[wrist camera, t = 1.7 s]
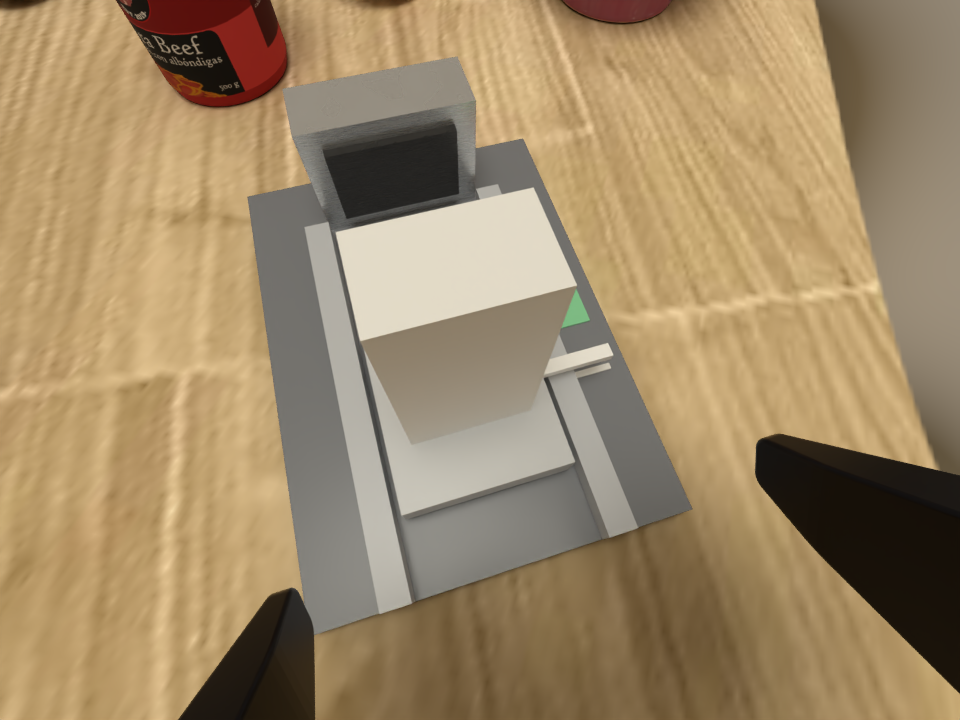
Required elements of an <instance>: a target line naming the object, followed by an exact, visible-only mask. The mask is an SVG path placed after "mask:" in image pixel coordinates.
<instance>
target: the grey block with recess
mask: <svg viewBox="0 0 960 720" xmlns="http://www.w3.org/2000/svg"><path fill="white" fill-rule="evenodd" d="M283 94H284V99H285V104H286V109H287V114H288V119H289V124H290V129H291V134H292V138H293V140H294V143H295V145H296V148H297V150H298V152H299V155H300V157H301V159H302V162H303V164H304V167H305V169H306V171H307V174H308V176H309V179H310V181H311V183H312V186H313V188H314V190H315V193H316V195H317V198H318V200H319V202H320V205H321V207H322V210H323V212H324V214H325V217H326V219H327V221H328V222H329V225H330V227H331V230H333V229H338V228H342V227H347V226H351V225H355V224H360V223H364V222H369V221H373V220H378V219H382V218H387V217H391V216H395V215H400V214H404V213H409V212H413V211H418V210H422V209H426V208H431V207H435V206H440V205H444V204H449V203H453V202H458V201H462V200H466V199H471V198H475V139H476V100H475V97H474V95H473V93H472V90H471V88H470V86H469V83H468V81H467V78H466V76H465V74H464V71H463V69H462V67H461V64H460V62H459V60H458V57H452V58H447V59H442V60H436V61H431V62H425V63H420V64H414V65H409V66H404V67H398V68H393V69H387V70H382V71H377V72H371V73H366V74H360V75H355V76H350V77H344V78H339V79H333V80H328V81H322V82H317V83H312V84H306V85H301V86H295V87H290V88H285V89H283Z"/></svg>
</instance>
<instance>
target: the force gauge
mask: <svg viewBox="0 0 960 720" xmlns="http://www.w3.org/2000/svg"><path fill="white" fill-rule="evenodd" d="M336 236H337V241H338V245H339V250H340V254H341V259H342V263H343V268H344V272H345V277H346V281H347V285H348V290H349V294H350V299H351V303H352V308H353V312H354V317H355V321H356V326H357V330H358V335H359V339H360V342H361V344H362V346H363V348H364V353H365V357H366V361H367V366H368V370H369V375H370V379H371V384H372V388H373V392H374V397H375V401H376V406H377V410H378V415H379V419H380V423H381V428H382V432H383V437H384V441H385V445H386V450H387V454H388V459H389V463H390V468H391V472H392V476H393V481H394V485H395V490H396V494H397V499H398V503H399V507H400V512H401V516H403V517H404V518H405V519H410V518H413V517H416V516H419V515H423V514H426V513H429V512H432V511H436V510H439V509H442V508H445V507H449V506H452V505H455V504H458V503H462V502H465V501H468V500H471V499H474V498H478V497H481V496H484V495H487V494H491V493H494V492H497V491H500V490H504V489H507V488H510V487H513V486H516V485H520V484H523V483H526V482H529V481H533V480H536V479H539V478H542V477H546V476H549V475H552V474H555V473H559V472H562V471H565V470H568V469H569V468H570V467H571V466H572V465H573V464H574V463H575V460H574V457H573V455H572V452H571V449H570V447H569V444H568V441H567V439H566V436H565V434H564V431H563V428H562V426H561V423H560V420H559V418H558V415H557V412H556V410H555V407H554V404H553V402H552V399H551V397H550V394H549V391H548V389H547V386H546V383H545V381H544V378H545V377H549V376H552V375H556V374H559V373H563V372H566V371H570V370H574V369H577V368H581V367H584V366H588V365H591V364H595V363H599V362H602V361H606V360H609V359H611V358H612V357H613V353H612V351H611V348H610V346H609V344H608V343H606V344H602V345H599V346H595V347H591V348H588V349H584V350H581V351H577V352H573V353H570V354H566V355H563V356H559V357H555V358H552V359H550V357H551V354H552V351H553V349H554V346H555V343H556V341H557V338H558V335H559V333H560V330H561V327H562V325H563V322H564V319H565V317H566V314H567V311H568V309H569V306H570V303H571V300H572V298H573V295H574V292H575V290H576V287H577V284H576V282H575V279H574V277H573V275H572V273H571V270H570V268H569V266H568V264H567V261H566V259H565V257H564V255H563V252H562V250H561V248H560V246H559V243H558V241H557V239H556V237H555V235H554V232H553V230H552V228H551V226H550V223H549V221H548V219H547V217H546V214H545V212H544V210H543V208H542V205H541V203H540V201H539V199H538V196H537V194H536V192H535V190H534V187H533V188H529V189H524V190H520V191H515V192H511V193H507V194H502V195H498V196H493V197H489V198H485V199H480V200H476V201H471V202H467V203H462V204H458V205H454V206H449V207H445V208H440V209H436V210H431V211H427V212H423V213H418V214H414V215H409V216H405V217H400V218H396V219H392V220H387V221H383V222H378V223H374V224H369V225H365V226H361V227H356V228H352V229H347V230H343V231H338V232H336Z"/></svg>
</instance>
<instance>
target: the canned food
mask: <svg viewBox="0 0 960 720" xmlns="http://www.w3.org/2000/svg"><path fill="white" fill-rule="evenodd" d="M116 1H117V3H118V4H119V6H120V8H121V9H122V11H123V12H124V14H125V15H126V17H127V19H128V20H129V22H130V23H131V25H132V26H133V28H134V30H135V31H136V33H137V34H138V36H139V37H140V39H141V41H142V42H143V44H144V45H145V47H146V48H147V50H148V52H149V53H150V55H151V56H152V58H153V59H154V61H155V63H156V64H157V66H158V67H159V69H160V71H161V72H162V74H163V75H164V77H165V78H166V80H167V81H168V82H169V84H170V85H171V86H172V87H173V88H174V89H175V90H177V91H178V92H179V93H180V94H181V95H182V96H184V97H185V98H186V99H188V100H190V101H192V102H194V103H198V104H202V105H207V106H231V105H236V104H241V103H244V102H247V101H250V100H253V99H255V98H257V97H259V96H261V95H262V94H264V93H266V92H267V91H269V90H270V89H271V88H272V87H273V86H274V85H276V84H277V82H278V81H279V80H280V78H281V77H282V76H283V74H284V71H285V69H286V64H287V55H286V44H285V40H284V38H283V35H282V32H281V29H280V26H279V23H278V21H277V18H276V15H275V12H274V9H273V6H272V4H271V1H270V0H116Z"/></svg>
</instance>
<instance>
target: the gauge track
mask: <svg viewBox="0 0 960 720" xmlns="http://www.w3.org/2000/svg"><path fill="white" fill-rule="evenodd" d="M533 187H534V190H535V192H536V194H537V196H538V199H539V201H540V203H541V205H542V208H543V210H544V212H545V214H546V217H547V219H548V221H549V223H550V226H551V228H552V230H553V232H554V235H555V237H556V239H557V241H558V243H559V246H560V248H561V250H562V252H563V255H564V257H565V259H566V261H567V264H568V266H569V268H570V270H571V273H572V275H573V277H574V279H575V282H576V284H577V287H576V290H575V292H574V295H573V298H572V300H571V303H570V306H569V309H568V311H567V314H566V317H565V319H564V322H563V325H562V327H561V330H560V333H559V335H558V338H557V341H556V343H555V346H554V349H553V351H552V354H551V357H550V359H552V358H555V357H559V356H563V355H566V354H570V353H573V352H577V351H581V350H584V349H588V348H591V347H595V346H599V345H602V344H606V343H608V344H609V346H610V348H611V351H612V353H613V357H612V358H611V359H609V360H606V361H602V362H599V363H595V364H591V365H588V366H584V367H581V368H577V369H574V370H570V371H566V372H563V373H559V374H556V375H552V376H549V377H545V378H544V381H545V383H546V386H547V389H548V391H549V394H550V397H551V399H552V402H553V404H554V407H555V410H556V412H557V415H558V418H559V420H560V423H561V426H562V428H563V431H564V434H565V436H566V439H567V441H568V444H569V447H570V449H571V452H572V455H573V457H574V460H575V463H574V464H573V465H572V466H571V467H570V468H569V469H568V470H565V471H562V472H559V473H555V474H552V475H549V476H546V477H542V478H539V479H536V480H533V481H529V482H526V483H523V484H520V485H516V486H513V487H510V488H507V489H504V490H500V491H497V492H494V493H491V494H487V495H484V496H481V497H478V498H474V499H471V500H468V501H465V502H462V503H458V504H455V505H452V506H449V507H445V508H442V509H439V510H436V511H432V512H429V513H426V514H423V515H419V516H416V517H413V518H410V519H405V518H404V517H403V516H401V512H400V507H399V503H398V499H397V494H396V490H395V485H394V481H393V476H392V472H391V468H390V463H389V459H388V454H387V450H386V445H385V441H384V437H383V432H382V428H381V423H380V419H379V415H378V410H377V406H376V401H375V397H374V392H373V388H372V384H371V379H370V375H369V370H368V366H367V361H366V357H365V353H364V348H363V346H362V344H361V342H360V339H359V335H358V330H357V326H356V321H355V317H354V312H353V308H352V303H351V299H350V294H349V290H348V285H347V281H346V277H345V272H344V268H343V263H342V259H341V254H340V250H339V245H338V241H337V236H336V232H338V231H343V230H347V229H352V228H356V227H361V226H365V225H369V224H374V223H378V222H383V221H387V220H392V219H396V218H400V217H405V216H409V215H414V214H418V213H423V212H427V211H431V210H436V209H440V208H445V207H449V206H454V205H458V204H462V203H467V202H471V201H476V200H480V199H485V198H489V197H493V196H498V195H502V194H507V193H511V192H515V191H520V190H524V189H529V188H533ZM248 203H249V210H250V217H251V225H252V232H253V239H254V246H255V253H256V260H257V268H258V275H259V282H260V289H261V296H262V303H263V310H264V318H265V325H266V332H267V339H268V346H269V353H270V360H271V368H272V375H273V382H274V389H275V396H276V403H277V411H278V418H279V425H280V432H281V439H282V446H283V453H284V461H285V468H286V475H287V482H288V489H289V496H290V503H291V511H292V518H293V525H294V532H295V539H296V546H297V553H298V561H299V568H300V575H301V582H302V589H303V596H304V604H305V607H306V609H307V611H308V613H309V615H310V617H311V620H312V623H313V628H314V635H316V634H319V633H322V632H325V631H328V630H331V629H334V628H337V627H340V626H343V625H346V624H349V623H352V622H355V621H358V620H361V619H364V618H367V617H370V616H373V615H376V614H382V613H385V612H388V611H391V610H394V609H397V608H400V607H403V606H406V605H409V604H412V603H414V602H415V601H418V600H421V599H424V598H427V597H430V596H433V595H436V594H439V593H442V592H445V591H448V590H451V589H454V588H457V587H460V586H463V585H466V584H469V583H472V582H475V581H478V580H481V579H484V578H487V577H490V576H493V575H496V574H499V573H502V572H505V571H508V570H511V569H514V568H517V567H520V566H523V565H526V564H529V563H532V562H535V561H538V560H541V559H544V558H547V557H550V556H553V555H556V554H559V553H562V552H565V551H568V550H571V549H574V548H577V547H580V546H583V545H586V544H589V543H592V542H595V541H598V540H601V539H606V538H610V537H613V536H616V535H619V534H622V533H625V532H628V531H631V530H634V529H637V528H638V527H641V526H644V525H647V524H650V523H653V522H656V521H659V520H662V519H665V518H668V517H671V516H674V515H677V514H680V513H683V512H686V511H689V510H692V507H691V505H690V502H689V500H688V498H687V496H686V494H685V492H684V489H683V487H682V485H681V483H680V481H679V478H678V476H677V474H676V472H675V470H674V468H673V465H672V463H671V461H670V459H669V457H668V454H667V452H666V450H665V448H664V446H663V443H662V441H661V439H660V437H659V435H658V433H657V430H656V428H655V426H654V424H653V422H652V419H651V417H650V415H649V413H648V411H647V409H646V406H645V404H644V402H643V400H642V398H641V395H640V393H639V391H638V389H637V387H636V384H635V382H634V380H633V378H632V376H631V374H630V371H629V369H628V367H627V365H626V363H625V360H624V358H623V356H622V354H621V352H620V350H619V347H618V345H617V343H616V341H615V339H614V336H613V334H612V332H611V330H610V328H609V325H608V323H607V321H606V319H605V317H604V315H603V312H602V310H601V308H600V306H599V304H598V301H597V299H596V297H595V295H594V293H593V291H592V288H591V286H590V284H589V282H588V280H587V277H586V275H585V273H584V271H583V269H582V267H581V264H580V262H579V260H578V258H577V256H576V253H575V251H574V249H573V247H572V245H571V242H570V240H569V238H568V236H567V234H566V232H565V229H564V227H563V225H562V223H561V221H560V218H559V216H558V214H557V212H556V210H555V208H554V205H553V203H552V201H551V199H550V197H549V194H548V192H547V190H546V188H545V186H544V183H543V181H542V179H541V177H540V175H539V173H538V170H537V168H536V166H535V164H534V162H533V159H532V157H531V155H530V153H529V151H528V149H527V146H526V144H525V142H524V140H523V139H519V140H514V141H509V142H504V143H500V144H495V145H490V146H486V147H481V148H476V149H475V198H471V199H466V200H462V201H458V202H453V203H449V204H444V205H440V206H435V207H431V208H426V209H422V210H418V211H413V212H409V213H404V214H400V215H395V216H391V217H387V218H382V219H378V220H373V221H369V222H364V223H360V224H355V225H351V226H347V227H342V228H338V229H333V230H331V227H330V225H329V222H328V221H327V219H326V217H325V214H324V212H323V210H322V207H321V205H320V202H319V200H318V198H317V195H316V193H315V190H314V188H313V186H312V183H311V184H306V185H301V186H296V187H292V188H287V189H282V190H277V191H273V192H268V193H263V194H259V195H254V196H249V197H248Z"/></svg>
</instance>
